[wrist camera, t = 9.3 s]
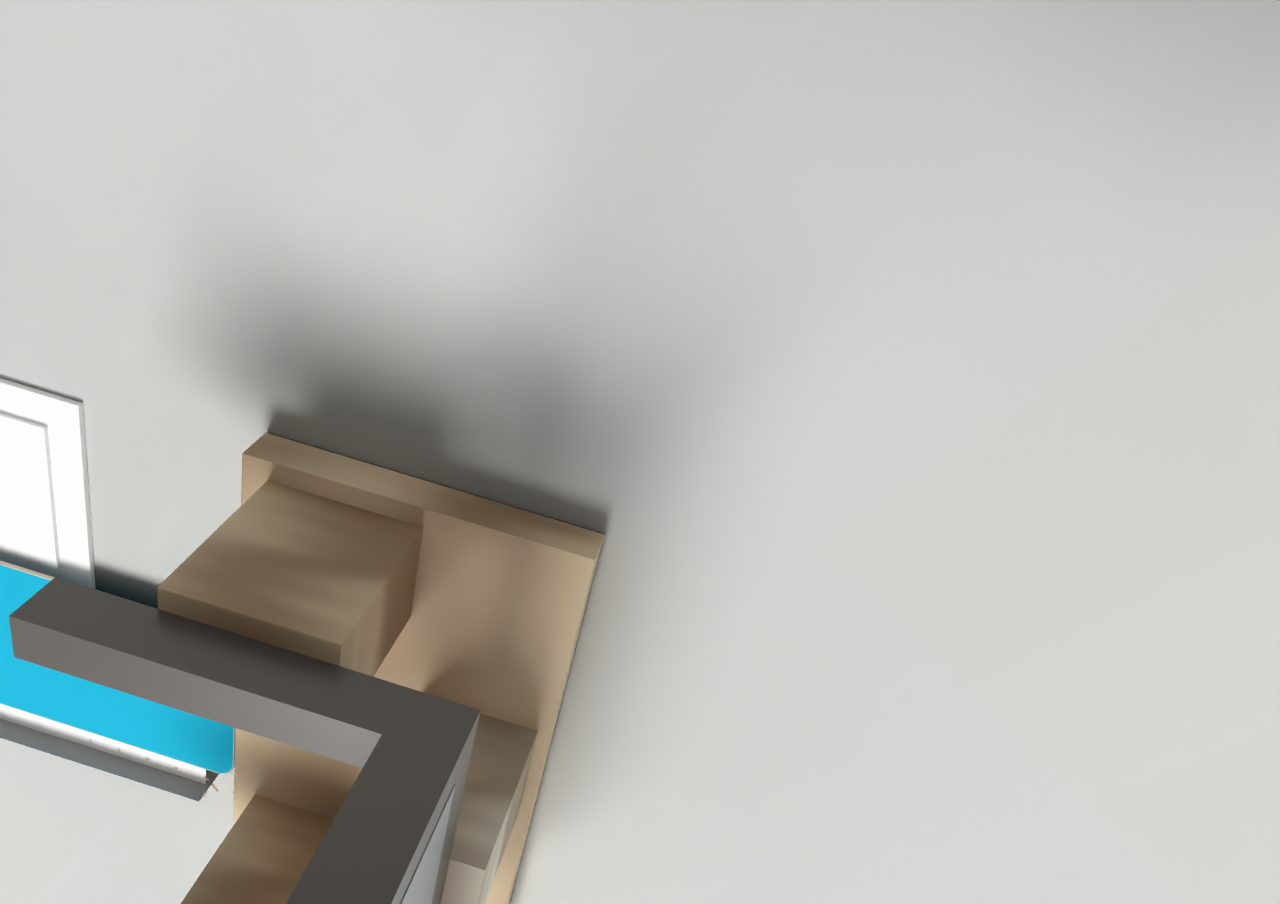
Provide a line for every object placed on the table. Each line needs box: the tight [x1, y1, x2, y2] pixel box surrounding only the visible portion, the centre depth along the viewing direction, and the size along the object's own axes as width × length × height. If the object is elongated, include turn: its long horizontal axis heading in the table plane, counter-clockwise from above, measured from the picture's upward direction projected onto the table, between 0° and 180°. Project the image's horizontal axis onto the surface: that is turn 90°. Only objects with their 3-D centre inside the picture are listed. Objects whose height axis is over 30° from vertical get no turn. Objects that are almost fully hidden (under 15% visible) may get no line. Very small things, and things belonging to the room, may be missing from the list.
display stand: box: [157, 433, 605, 904], centre depth 23 cm, size 8×14×5 cm, turn 166°
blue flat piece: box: [0, 378, 236, 801], centre depth 26 cm, size 20×12×2 cm, turn 76°
